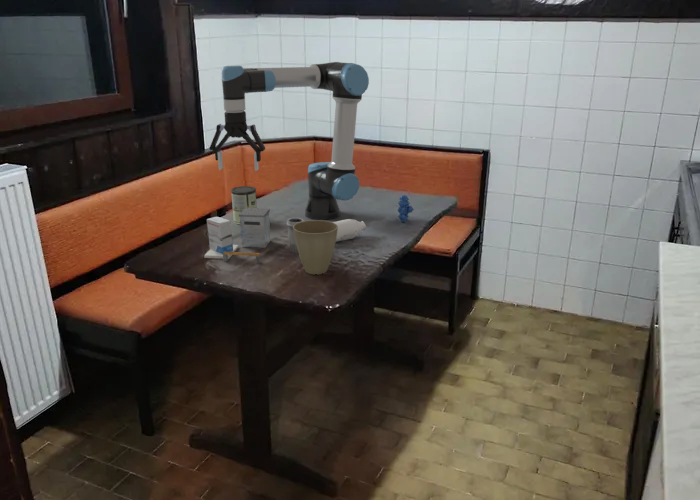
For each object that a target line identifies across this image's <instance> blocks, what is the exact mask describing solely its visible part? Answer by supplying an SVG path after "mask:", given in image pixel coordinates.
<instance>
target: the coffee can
mask: <svg viewBox="0 0 700 500" xmlns="http://www.w3.org/2000/svg"><path fill="white" fill-rule="evenodd" d="M230 192H231V201H232V203H231V205H232V214H233V215H232V216H233V223H234V224H236V225H240V217H239V214H240V213H241V212H242V211H243V210H244V209H245V208H257V207H258V206H257V194H256V193H257V188H256V187H254V186H248V185H244V186H243V185H242V186H236V187H233V188H231V190H230Z"/></svg>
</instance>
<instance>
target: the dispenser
mask: <svg viewBox="0 0 700 500" xmlns="http://www.w3.org/2000/svg"><path fill="white" fill-rule="evenodd" d="M270 210H271V209H270V208H245V209H244V210H243V211H242V212H241V213H240V214H239V217H240V236H241V237H240V239H241V247H242V248H261V249H263V248H266V247H267V246H268V244H269V243H270V242H271V231H270V229H271V228H270V227H271V226H270ZM227 255H232V256H248V257H249V256H254V257H255V258H256V259H255V261H256V264H261V253H260V252H241V251H240V252H239V251H235V252H223V259H222V260H223V262H224V263H225V262H226V263H227V262H228V260H229V259H228V256H227Z"/></svg>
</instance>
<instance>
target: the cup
mask: <svg viewBox="0 0 700 500" xmlns="http://www.w3.org/2000/svg"><path fill="white" fill-rule="evenodd" d="M303 221H305V220H304V219H303V218H301V217H291V218H287V221H286V225H287V233H288V234H287V235H288V243H289V251H290V253H291V254H299V252H298V249H297V245H296V240H295V235H294V229H293V226H294V225H295V224H297V223H299V222H303Z"/></svg>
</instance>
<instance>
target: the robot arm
mask: <svg viewBox="0 0 700 500" xmlns="http://www.w3.org/2000/svg"><path fill="white" fill-rule="evenodd" d="M369 81H370V78H369V75H368V72H367V71H366V69H365V68H364V67H363V66H362V65H360V64H357V63H353V62H340V61H333V62H325V63H315V64H314V63H313V64H311V65H310V66H296V67H295V66H294V67H289V66H288V67H256V68H254V67H250V68H248V67H247V68H246V67H245V68H244V66H242V65H225V66H223V67H222V68H221V84H222V85H221V86H222V93H223V94H222V95H223V96H222V97H223V110H224V114H223V115H224V124H222V123H219V124H217V125H216V129H215V130H216V131H215V133H214V136H213V138H212V141H211V143H210V146H209V150H210V151H214V156H215V159H214V160H215V161H217V163H218V171H221V170H223V169H224V163H223V151H222V150H221V149H222V148H223V146H224V145H225V143H226V142H228V139H229V138H230V137H231V138H238V139H240V138H243V140H244V141H245V142H246V143H248V145H249V146H250V147H251V149H253V151H254V152H253V159H254V160H253V162H254V171H255V172H257V171H259V170H260V169H259V168H260V167H259V165H260V164H259V162H261V160H262V156H261V153H262V152H264V151H265V150H266V146H265V145H264V142H263V140H262V139H261V137H260V135H259V133H258V131H257V129H256V125H255V124H251V125H248V124H247V113H246V95H245V94H250V93H267V92H268V93H269V92H273V90H275V89H278V88H279V89H281V88H307V87H310V88H311V89H313V90H325V91H330V92H332V99H333V100H334V101H335V109H334V110H335V111H334V120H333V121H334V123H333V136H332V148H331V149H332V150H331V161H326V162H325V161H321V162H320V161H319V162H313V163H311V164H309V165H308V168H307V176H308V177H307V178H308V181H307V182H308V199H307V203H306V206H305V209H304V210H305V211H304V214H305V217H307V218H309V219H311V220H331V219H335V218H337V217H339V216H340V207H339V204H338V200H340V201H345V202H346V201H348V200H351V199H353V198H354V196H356V195H357V193H358V191H359V189H360V180H359V178H358V176H357V175H356V166H355V165H354V164H353V158H354V147H355V135H356V125H357V122H356V121H357V112H358V111H357V110H358V104H359V103H360V102H361V101H362V95H363V94H364V93H365V92H366V91H367V90H368V88H369V84H370V82H369ZM247 130H248V131H249V132H250V133H251V135H252V137H253V139H252V138H251V136H250V135H249V134H248V132H247ZM222 131H225V132H226V133H225V135H224V137H222V139H221V140H220V142H219V143H218V141H219V138H220V136H221V133H222ZM217 143H218V145H217Z"/></svg>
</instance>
